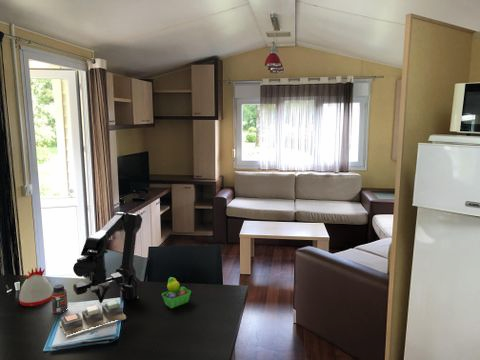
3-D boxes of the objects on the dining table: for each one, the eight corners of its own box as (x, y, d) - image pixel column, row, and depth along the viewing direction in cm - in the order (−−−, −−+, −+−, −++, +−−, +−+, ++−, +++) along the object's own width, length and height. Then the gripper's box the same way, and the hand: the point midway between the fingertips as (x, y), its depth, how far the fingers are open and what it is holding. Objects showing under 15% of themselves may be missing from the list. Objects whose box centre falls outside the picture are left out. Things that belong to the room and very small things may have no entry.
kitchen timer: (55, 300, 174) (53, 269, 171) (21, 309, 166) (17, 276, 164) (50, 289, 185) (48, 260, 183) (18, 297, 177) (15, 266, 175)
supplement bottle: (61, 314, 160) (59, 289, 159) (49, 313, 162) (47, 288, 160) (70, 308, 166) (69, 283, 165) (58, 306, 167) (56, 282, 166)
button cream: (96, 311, 157) (95, 305, 157) (99, 315, 154) (98, 308, 154) (86, 314, 155) (85, 307, 154) (89, 318, 152) (88, 311, 151)
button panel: (116, 307, 166) (115, 298, 166) (126, 318, 157) (125, 309, 156) (59, 324, 153) (58, 314, 152) (66, 337, 143) (65, 327, 143)
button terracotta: (76, 320, 153) (75, 313, 152) (78, 324, 149) (78, 318, 149) (65, 323, 150) (64, 317, 150) (67, 327, 147) (67, 321, 147)
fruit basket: (170, 310, 164) (169, 285, 162) (159, 303, 170) (158, 279, 169) (192, 302, 171) (191, 278, 169) (181, 295, 178) (180, 272, 176)
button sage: (115, 305, 162) (115, 299, 161) (118, 309, 159) (118, 303, 158) (105, 308, 160) (105, 302, 159) (109, 312, 156) (108, 305, 156)
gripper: (114, 255, 165) (116, 289, 168) (68, 266, 154) (71, 301, 157) (123, 263, 156) (125, 298, 159) (75, 275, 146) (78, 312, 148)
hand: (100, 302), depth 156 cm, fingers closed
